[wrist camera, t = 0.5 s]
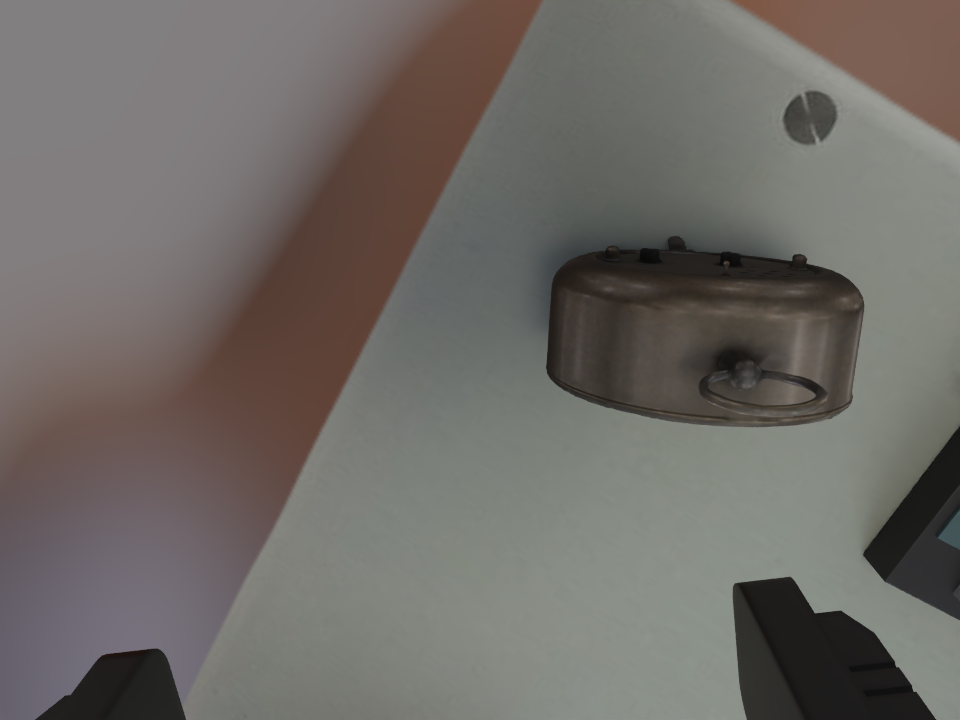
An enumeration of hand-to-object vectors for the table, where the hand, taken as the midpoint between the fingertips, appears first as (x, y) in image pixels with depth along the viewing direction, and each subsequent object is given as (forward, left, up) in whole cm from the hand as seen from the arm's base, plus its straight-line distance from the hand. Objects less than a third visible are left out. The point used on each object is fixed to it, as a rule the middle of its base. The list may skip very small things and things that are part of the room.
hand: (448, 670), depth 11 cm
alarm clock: (+1, +8, -26) cm, 28 cm away
